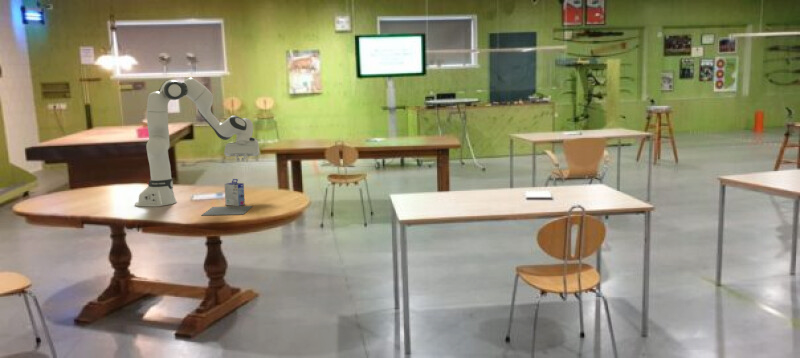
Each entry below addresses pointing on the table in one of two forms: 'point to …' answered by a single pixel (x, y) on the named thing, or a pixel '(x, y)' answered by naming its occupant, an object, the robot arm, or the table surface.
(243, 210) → the mat
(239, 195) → the ink cartridge box
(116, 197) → the table surface
